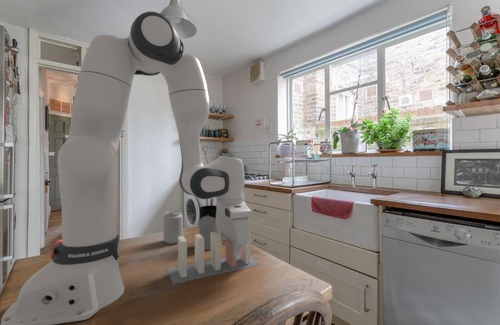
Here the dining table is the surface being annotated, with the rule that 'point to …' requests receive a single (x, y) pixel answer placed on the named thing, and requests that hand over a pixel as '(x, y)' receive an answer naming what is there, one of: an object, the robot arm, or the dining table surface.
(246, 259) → the domino
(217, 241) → the domino
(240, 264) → the mat
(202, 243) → the domino
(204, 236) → the grey mug
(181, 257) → the domino
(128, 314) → the dining table surface
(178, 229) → the can
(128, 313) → the dining table surface
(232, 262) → the domino
